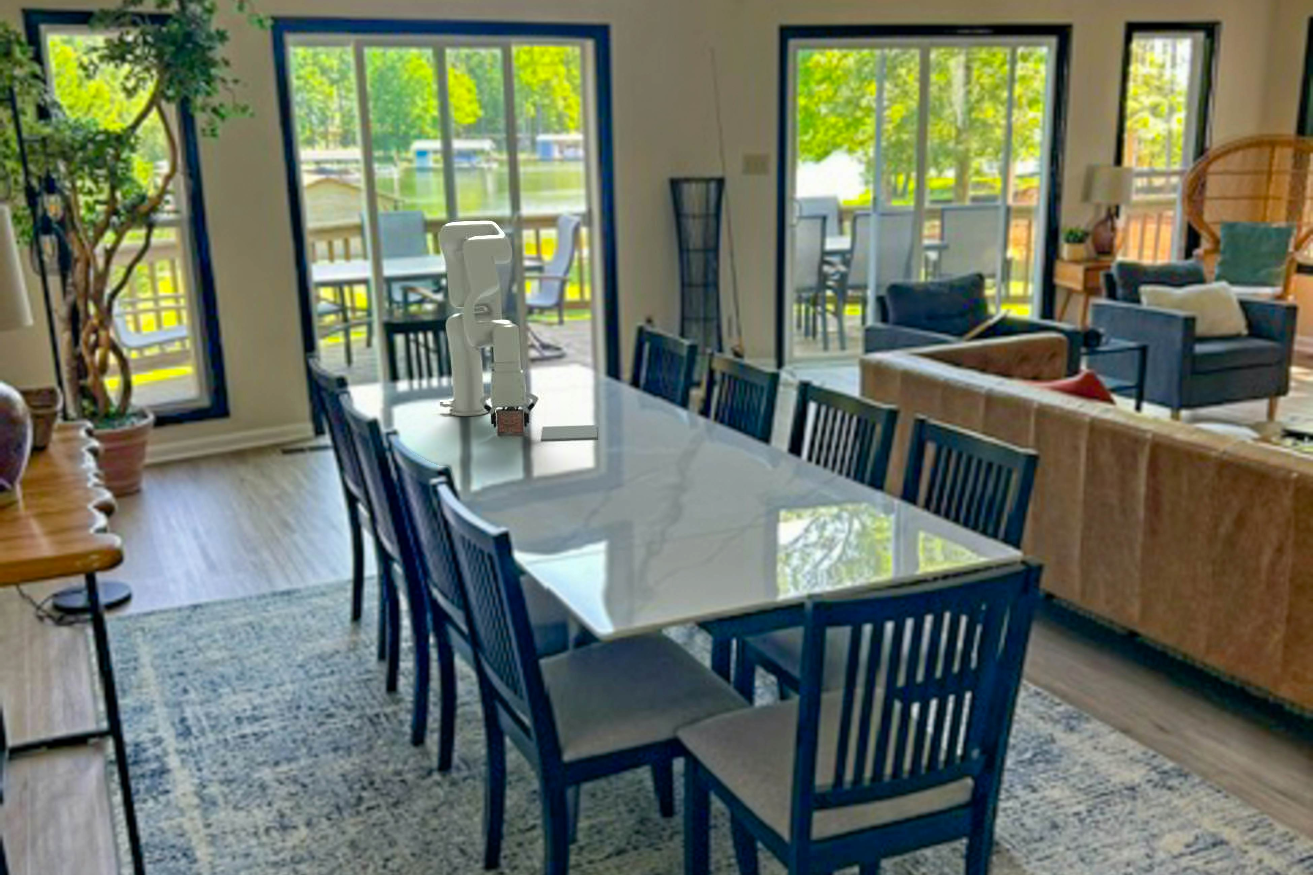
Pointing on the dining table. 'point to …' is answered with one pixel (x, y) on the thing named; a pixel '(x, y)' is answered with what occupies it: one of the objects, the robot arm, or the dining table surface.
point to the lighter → (510, 422)
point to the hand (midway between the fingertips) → (510, 426)
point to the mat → (569, 433)
